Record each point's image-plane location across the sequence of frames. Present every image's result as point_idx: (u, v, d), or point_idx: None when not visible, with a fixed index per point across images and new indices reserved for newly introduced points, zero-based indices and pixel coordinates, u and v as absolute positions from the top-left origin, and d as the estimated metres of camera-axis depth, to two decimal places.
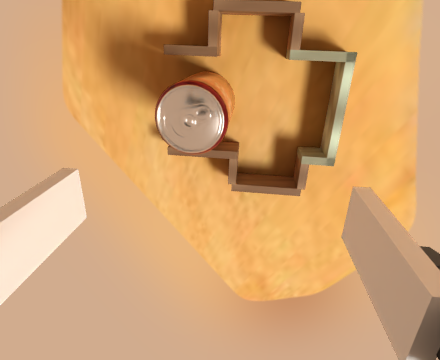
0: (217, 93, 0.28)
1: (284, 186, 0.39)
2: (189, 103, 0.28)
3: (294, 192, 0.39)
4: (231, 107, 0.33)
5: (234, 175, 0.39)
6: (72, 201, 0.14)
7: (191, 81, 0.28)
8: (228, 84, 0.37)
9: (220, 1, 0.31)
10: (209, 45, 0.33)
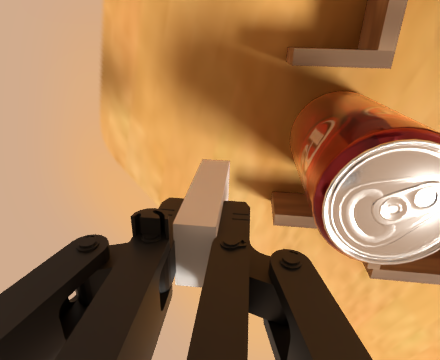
0: None
1: None
2: (404, 176, 0.13)
3: None
4: None
5: None
6: None
7: (416, 130, 0.13)
8: None
9: None
10: (381, 48, 0.18)
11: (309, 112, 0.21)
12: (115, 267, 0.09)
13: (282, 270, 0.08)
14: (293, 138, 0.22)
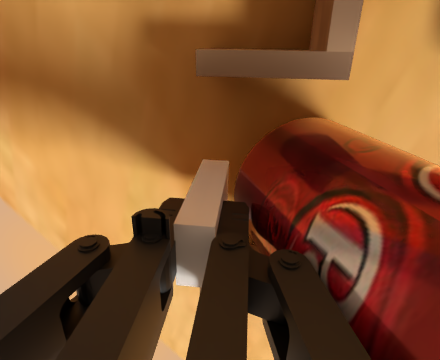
0: None
1: None
2: None
3: None
4: None
5: None
6: None
7: None
8: None
9: None
10: (331, 48, 0.11)
11: (271, 164, 0.12)
12: (115, 267, 0.09)
13: (281, 270, 0.08)
14: None
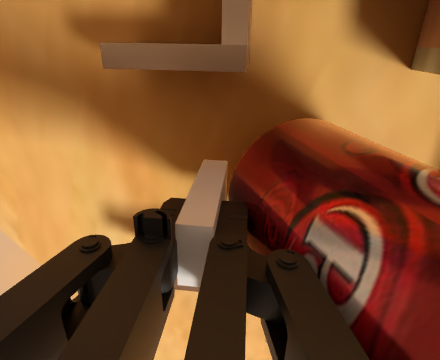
0: None
1: None
2: None
3: None
4: None
5: None
6: None
7: None
8: None
9: None
10: (225, 41, 0.12)
11: (268, 165, 0.12)
12: (117, 267, 0.09)
13: (279, 270, 0.08)
14: None
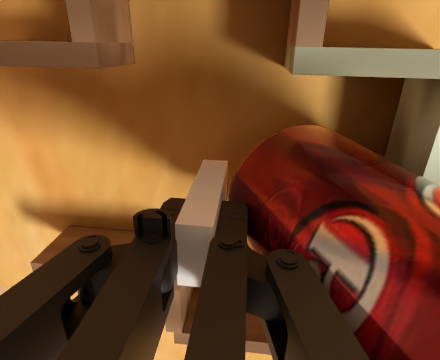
0: None
1: None
2: None
3: None
4: None
5: (177, 318, 0.18)
6: None
7: None
8: None
9: None
10: (75, 39, 0.12)
11: (273, 169, 0.12)
12: (117, 267, 0.09)
13: (279, 270, 0.08)
14: None
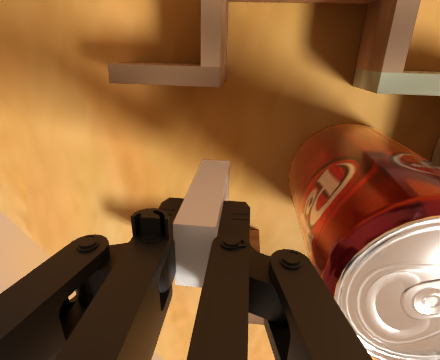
0: None
1: None
2: None
3: None
4: None
5: None
6: None
7: None
8: None
9: None
10: (203, 64, 0.15)
11: (316, 145, 0.18)
12: (115, 267, 0.09)
13: (282, 270, 0.08)
14: (294, 173, 0.19)
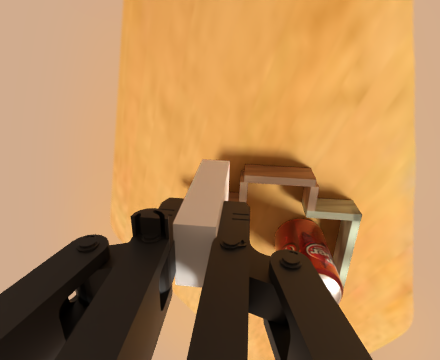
0: (338, 279, 0.34)
1: None
2: None
3: None
4: None
5: None
6: None
7: (320, 269, 0.34)
8: (322, 233, 0.43)
9: (249, 176, 0.38)
10: None
11: (285, 230, 0.43)
12: (115, 267, 0.09)
13: (282, 270, 0.08)
14: (276, 241, 0.43)
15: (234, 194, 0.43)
